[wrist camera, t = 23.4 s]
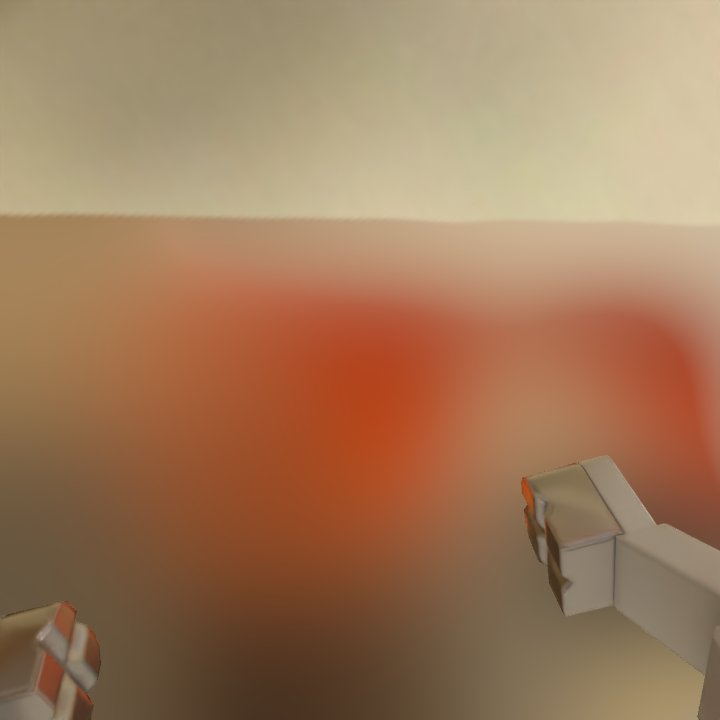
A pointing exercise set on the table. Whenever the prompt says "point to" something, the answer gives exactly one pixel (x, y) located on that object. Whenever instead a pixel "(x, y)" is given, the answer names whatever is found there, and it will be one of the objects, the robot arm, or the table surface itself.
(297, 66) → the table surface
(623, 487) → the robot arm
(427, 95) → the table surface
